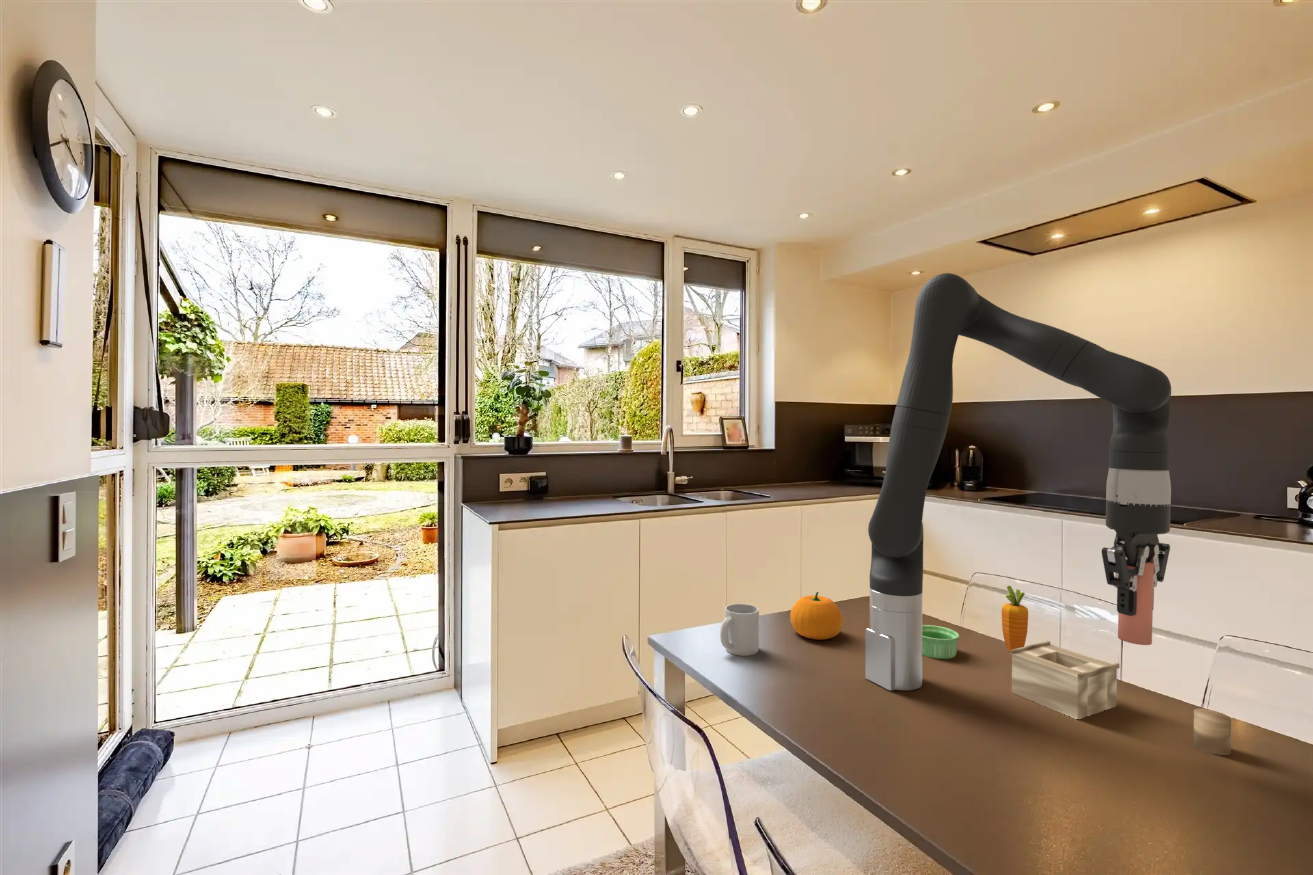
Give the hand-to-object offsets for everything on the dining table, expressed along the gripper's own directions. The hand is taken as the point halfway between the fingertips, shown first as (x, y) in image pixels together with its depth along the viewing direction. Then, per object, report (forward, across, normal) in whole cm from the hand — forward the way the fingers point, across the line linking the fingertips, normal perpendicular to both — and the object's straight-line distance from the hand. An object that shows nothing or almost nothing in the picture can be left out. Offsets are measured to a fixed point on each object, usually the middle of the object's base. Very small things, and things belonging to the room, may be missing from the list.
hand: (1135, 611), depth 88 cm
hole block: (+20, -5, -13) cm, 24 cm away
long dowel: (+4, 0, 0) cm, 4 cm away
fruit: (+21, +13, -57) cm, 62 cm away
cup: (+21, +35, -56) cm, 69 cm away
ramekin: (+20, -3, -38) cm, 43 cm away
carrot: (+20, -14, -28) cm, 37 cm away
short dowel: (+20, -8, +6) cm, 22 cm away
